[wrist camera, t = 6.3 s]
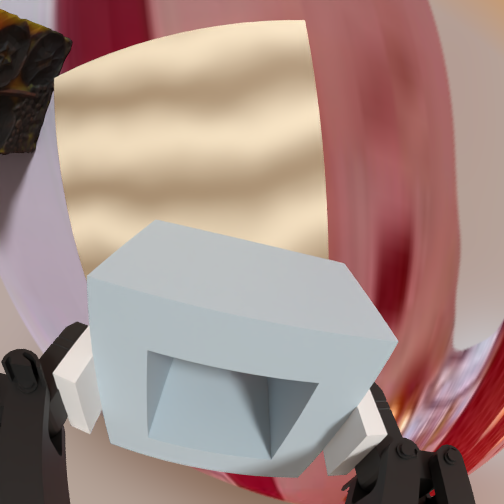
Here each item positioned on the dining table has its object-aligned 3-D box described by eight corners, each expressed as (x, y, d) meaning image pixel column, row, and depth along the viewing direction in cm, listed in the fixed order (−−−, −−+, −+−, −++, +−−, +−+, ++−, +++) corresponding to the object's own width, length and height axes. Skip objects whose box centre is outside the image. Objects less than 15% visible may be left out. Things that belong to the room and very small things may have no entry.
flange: (155, 219, 11) (87, 275, 6) (344, 263, 12) (398, 341, 7) (144, 414, 15) (122, 481, 10) (264, 438, 16) (265, 507, 11)
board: (65, 81, 16) (54, 78, 14) (300, 29, 15) (304, 20, 13) (109, 313, 22) (101, 323, 21) (323, 297, 22) (328, 308, 20)
